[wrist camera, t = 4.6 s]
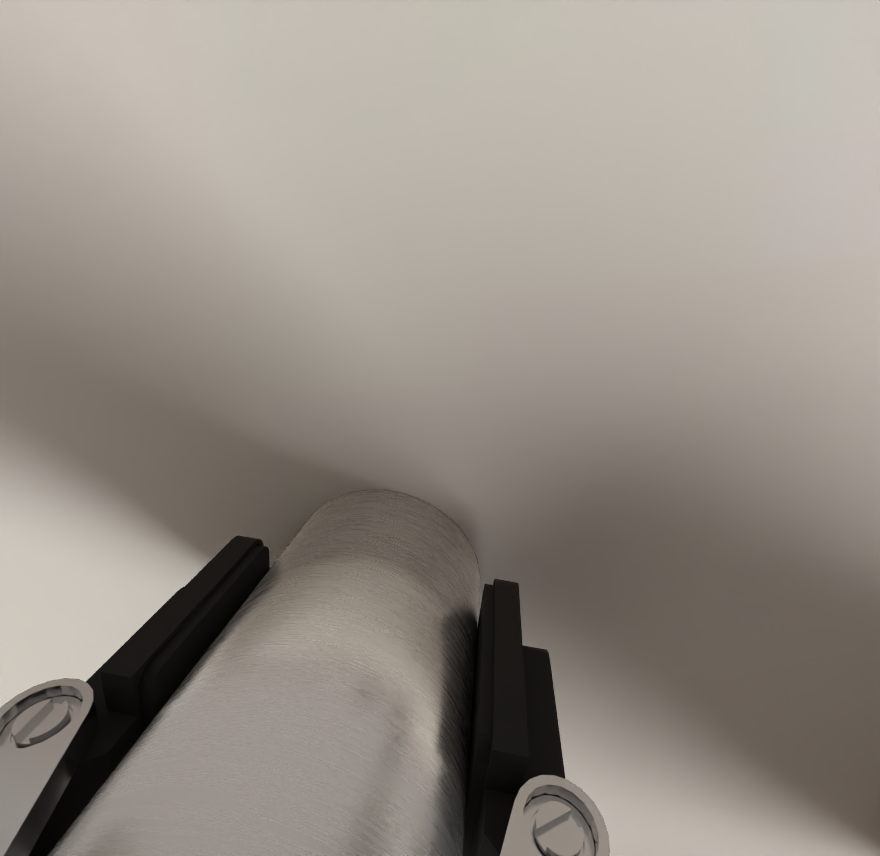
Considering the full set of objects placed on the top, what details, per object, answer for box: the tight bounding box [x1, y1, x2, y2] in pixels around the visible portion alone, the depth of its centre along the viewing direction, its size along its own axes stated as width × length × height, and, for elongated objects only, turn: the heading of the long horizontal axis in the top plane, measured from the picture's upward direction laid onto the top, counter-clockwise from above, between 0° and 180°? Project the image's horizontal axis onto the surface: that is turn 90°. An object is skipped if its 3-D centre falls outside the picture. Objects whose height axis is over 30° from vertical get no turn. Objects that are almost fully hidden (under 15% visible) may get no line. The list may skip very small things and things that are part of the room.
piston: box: [48, 490, 480, 856], centre depth 8 cm, size 5×5×8 cm
